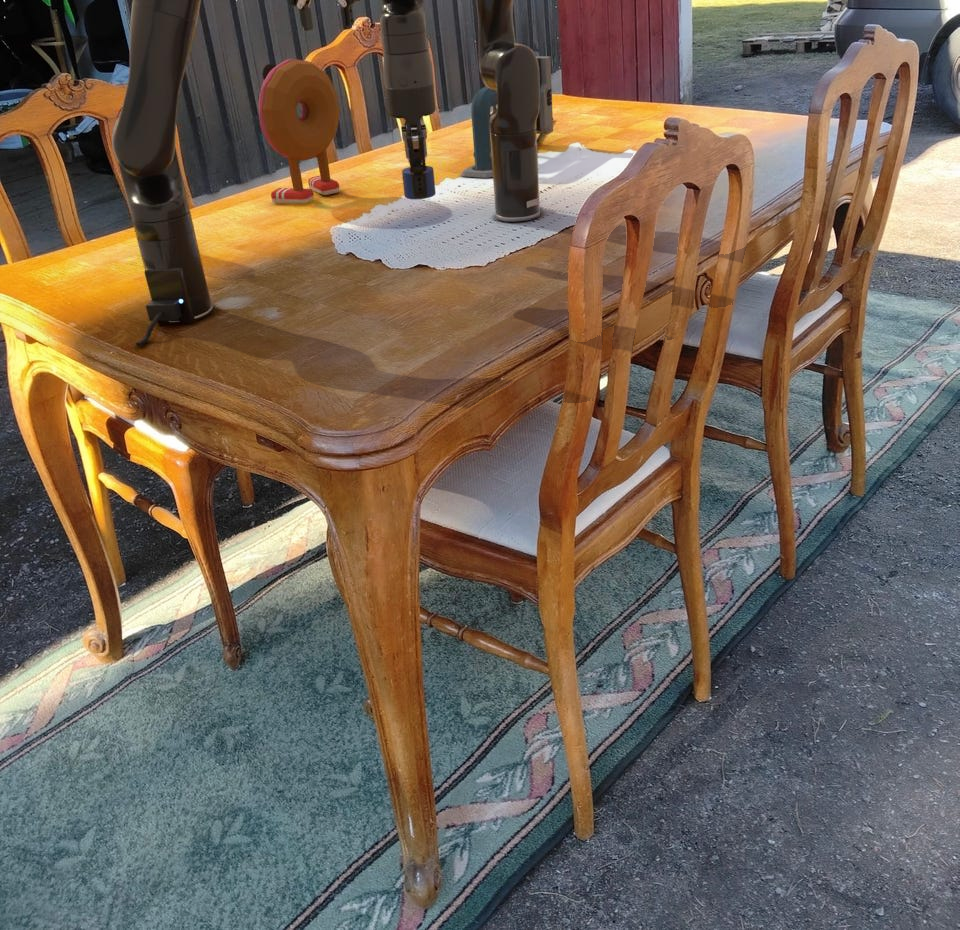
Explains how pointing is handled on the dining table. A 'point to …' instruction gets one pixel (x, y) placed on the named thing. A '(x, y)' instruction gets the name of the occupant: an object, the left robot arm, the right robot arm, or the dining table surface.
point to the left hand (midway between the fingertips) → (420, 191)
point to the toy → (299, 124)
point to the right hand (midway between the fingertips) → (328, 29)
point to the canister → (409, 185)
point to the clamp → (482, 112)
